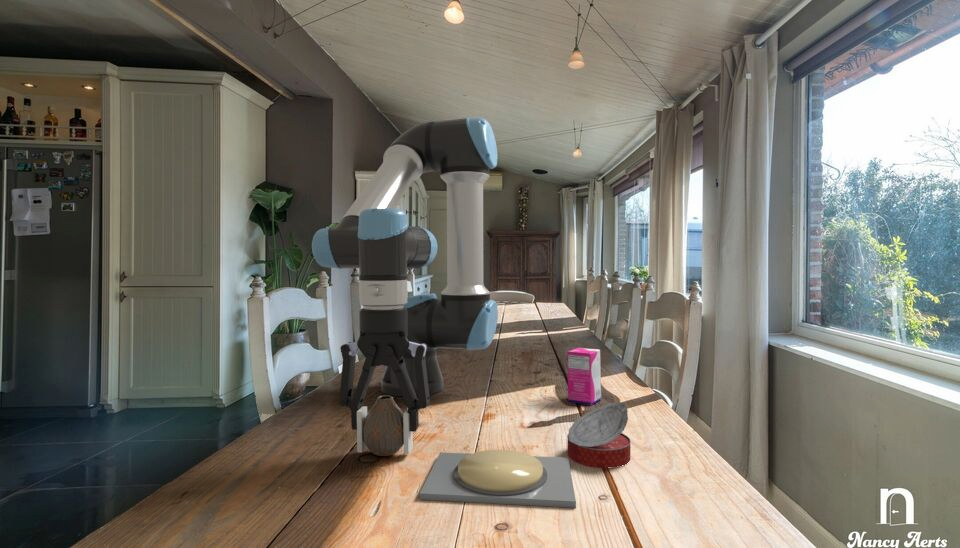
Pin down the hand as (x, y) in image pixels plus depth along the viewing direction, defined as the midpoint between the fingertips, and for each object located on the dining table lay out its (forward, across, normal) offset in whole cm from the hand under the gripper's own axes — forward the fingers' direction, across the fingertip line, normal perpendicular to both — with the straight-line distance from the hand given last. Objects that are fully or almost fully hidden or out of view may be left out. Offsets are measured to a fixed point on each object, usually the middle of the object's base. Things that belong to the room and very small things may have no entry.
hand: (385, 449), depth 78 cm
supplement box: (+2, +35, +36) cm, 50 cm away
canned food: (+1, +34, +4) cm, 34 cm away
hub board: (+1, +19, -7) cm, 20 cm away
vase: (+1, 0, 0) cm, 1 cm away
